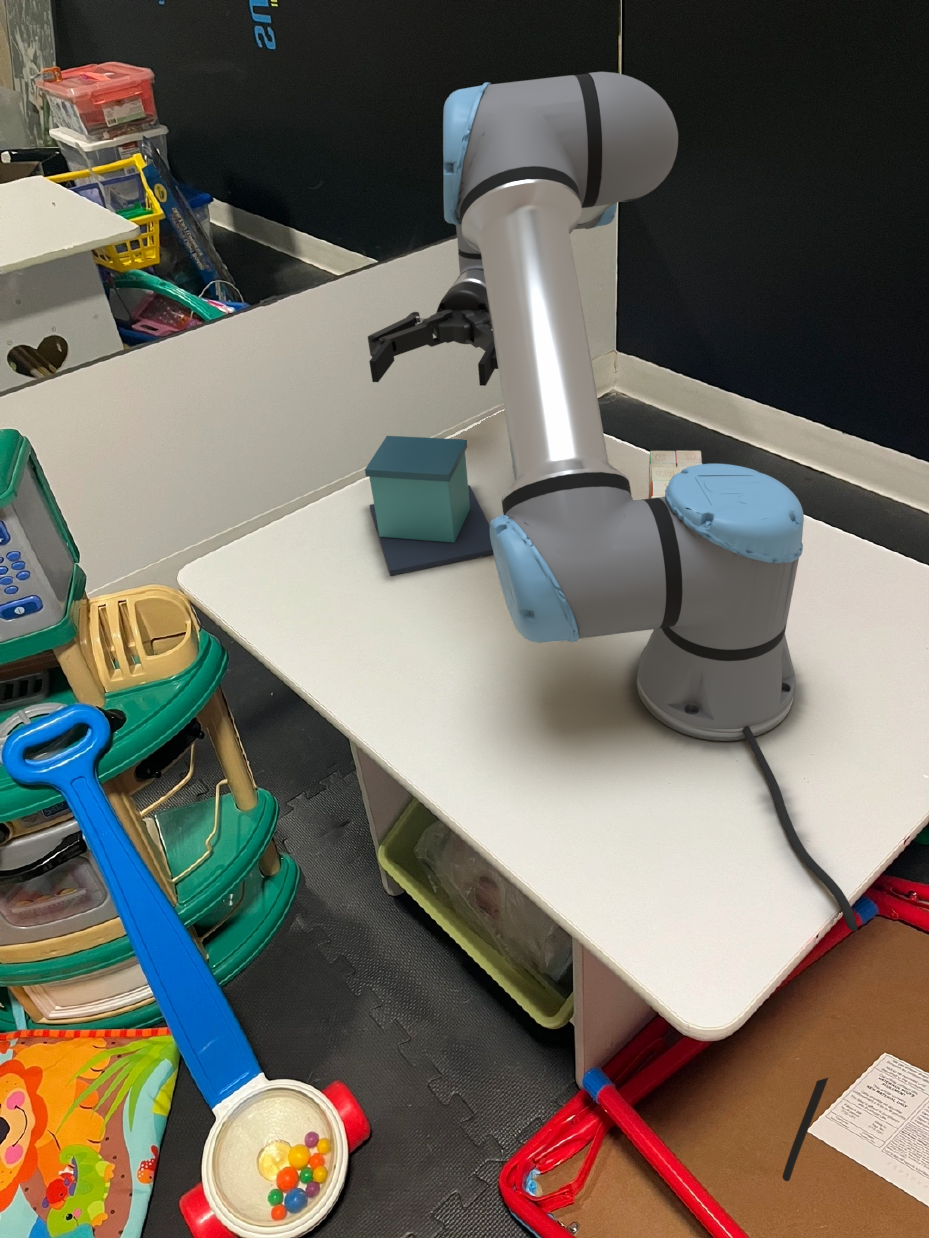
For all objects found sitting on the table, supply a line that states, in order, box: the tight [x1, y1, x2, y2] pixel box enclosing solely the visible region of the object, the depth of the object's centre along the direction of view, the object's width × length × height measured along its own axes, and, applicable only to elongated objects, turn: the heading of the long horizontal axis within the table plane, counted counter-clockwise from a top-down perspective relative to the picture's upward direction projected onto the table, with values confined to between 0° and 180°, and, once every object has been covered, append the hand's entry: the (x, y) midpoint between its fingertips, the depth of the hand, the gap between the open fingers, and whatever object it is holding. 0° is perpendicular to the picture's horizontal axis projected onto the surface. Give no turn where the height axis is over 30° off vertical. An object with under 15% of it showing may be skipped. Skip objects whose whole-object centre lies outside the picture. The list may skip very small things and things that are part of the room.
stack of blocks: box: [648, 450, 703, 499], centre depth 105 cm, size 21×6×12 cm, turn 171°
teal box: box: [364, 435, 470, 543], centre depth 115 cm, size 9×11×10 cm
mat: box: [369, 484, 494, 577], centre depth 118 cm, size 16×14×1 cm
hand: (426, 373), depth 110 cm, fingers open, 13 cm apart
